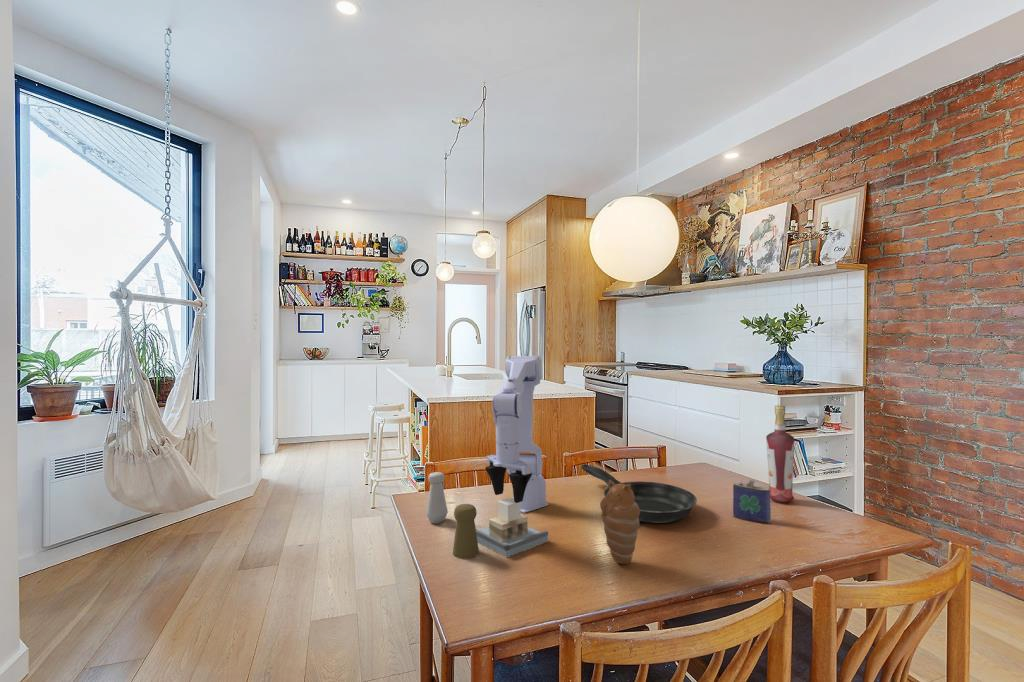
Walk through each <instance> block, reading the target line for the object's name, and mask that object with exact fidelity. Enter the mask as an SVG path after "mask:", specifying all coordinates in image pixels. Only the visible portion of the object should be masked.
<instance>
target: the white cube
mask: <svg viewBox="0 0 1024 682" xmlns="http://www.w3.org/2000/svg"><path fill="white" fill-rule="evenodd" d="M521 514H522V512H521V506H520V502H518V503H515V502H514V499H513V497H507V498H504V499H501V500H498V501H497V517H498V518H500V519H502V520H505V521H507V522H510V521H513V520H516V519H519V518H521Z"/></svg>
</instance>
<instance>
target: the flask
mask: <svg viewBox="0 0 1024 682" xmlns="http://www.w3.org/2000/svg"><path fill="white" fill-rule="evenodd" d="M732 488H733V492H732V493H733V498H732V499H733V500H732V501H733V502H732V505H733V506H732V511H733V512H732V514H733V517H734V518H735V519H739V520H742V521H747V522H751V523H758V524H763V525H764V524H766V525H769V524H771V523H772V522H771V521H772V520H771V511H772V510H771V509H772V508H771V498H770V493H771V491H770V489H769V488H768V487H763V486H756V485H755V479H754V480H753V479H747V483H745V482H742V481H740V482H735V483H733V486H732Z"/></svg>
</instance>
